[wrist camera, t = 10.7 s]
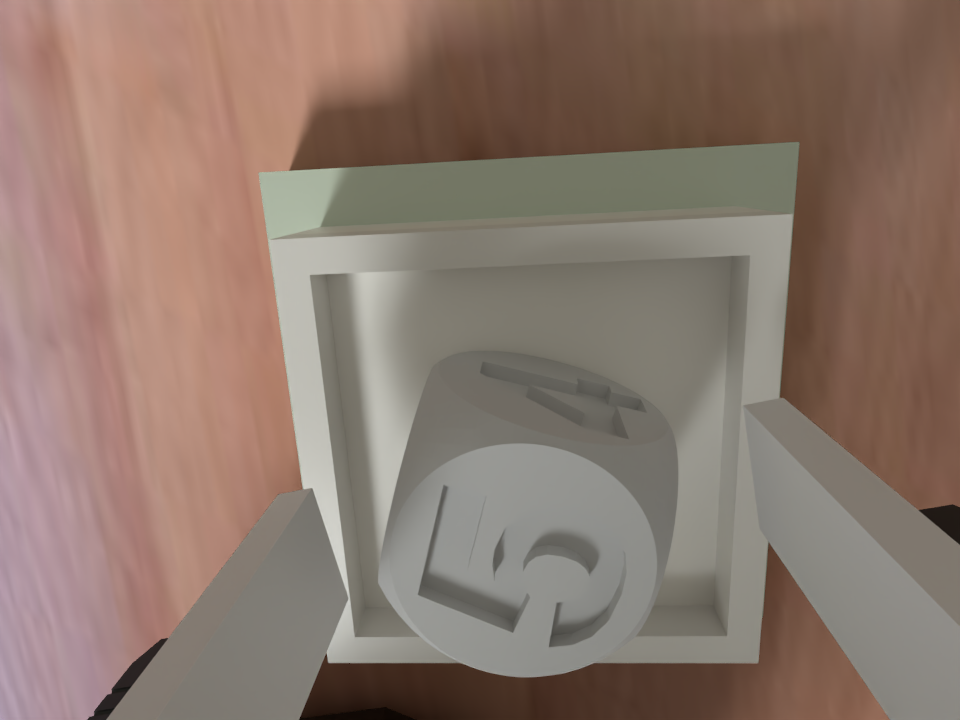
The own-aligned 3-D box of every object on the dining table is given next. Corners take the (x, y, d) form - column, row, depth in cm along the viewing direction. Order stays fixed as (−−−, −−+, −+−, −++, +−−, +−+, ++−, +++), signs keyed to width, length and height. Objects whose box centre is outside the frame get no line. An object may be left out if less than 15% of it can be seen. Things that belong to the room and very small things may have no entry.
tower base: (345, 565, 24) (280, 708, 17) (295, 173, 20) (190, 171, 14) (732, 561, 23) (815, 712, 16) (757, 146, 19) (877, 131, 13)
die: (448, 333, 16) (410, 404, 11) (650, 382, 15) (703, 475, 11) (408, 513, 17) (360, 647, 12) (594, 558, 17) (619, 710, 12)
